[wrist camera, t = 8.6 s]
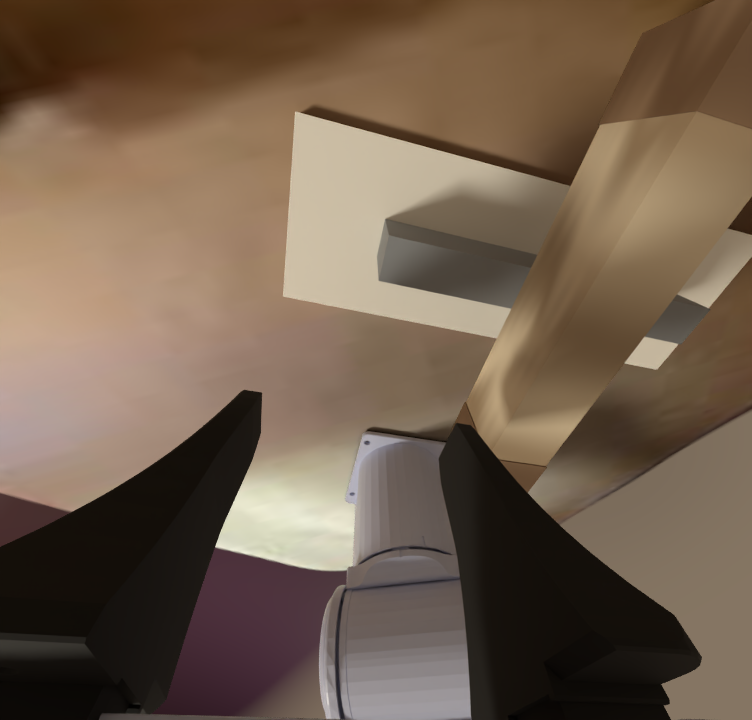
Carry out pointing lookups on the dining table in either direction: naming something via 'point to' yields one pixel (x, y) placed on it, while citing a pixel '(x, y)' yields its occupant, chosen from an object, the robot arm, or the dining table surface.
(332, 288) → the ridge stand
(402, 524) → the robot arm
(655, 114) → the shiny metallic bar
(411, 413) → the dining table surface
